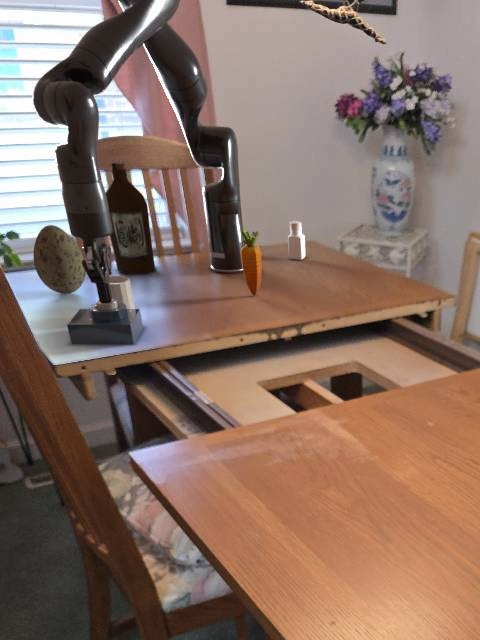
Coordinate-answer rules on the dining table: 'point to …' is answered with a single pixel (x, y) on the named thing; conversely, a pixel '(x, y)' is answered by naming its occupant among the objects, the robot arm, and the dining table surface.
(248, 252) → the carrot
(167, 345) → the dining table surface
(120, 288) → the cup
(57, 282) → the decorative egg
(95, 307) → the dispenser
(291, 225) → the pepper shaker
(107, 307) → the pump
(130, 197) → the olive oil
